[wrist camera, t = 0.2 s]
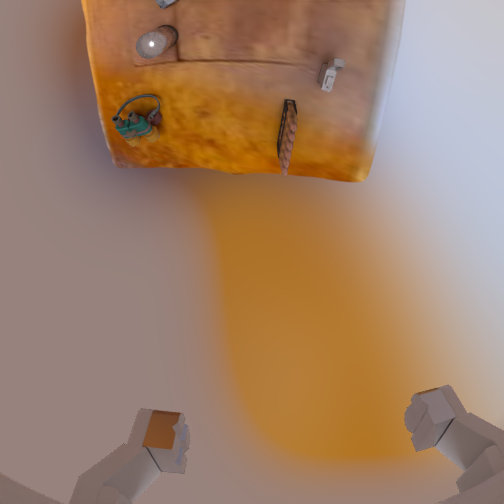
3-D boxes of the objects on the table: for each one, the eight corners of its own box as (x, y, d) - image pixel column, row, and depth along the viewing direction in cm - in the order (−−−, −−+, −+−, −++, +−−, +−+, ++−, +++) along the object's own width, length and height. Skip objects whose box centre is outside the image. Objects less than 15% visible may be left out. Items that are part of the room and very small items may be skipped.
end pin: (149, 34, 41) (129, 43, 35) (169, 20, 39) (152, 27, 33) (162, 52, 44) (145, 64, 38) (183, 38, 42) (169, 48, 36)
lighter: (326, 84, 48) (335, 99, 43) (317, 82, 48) (324, 97, 43) (335, 51, 43) (346, 61, 38) (326, 48, 43) (335, 58, 38)
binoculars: (128, 111, 55) (122, 152, 54) (108, 89, 46) (98, 132, 45) (169, 102, 54) (164, 144, 53) (151, 76, 45) (144, 120, 44)
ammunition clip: (285, 146, 60) (289, 181, 52) (276, 145, 59) (278, 179, 52) (294, 100, 51) (301, 127, 44) (285, 98, 51) (289, 125, 44)
